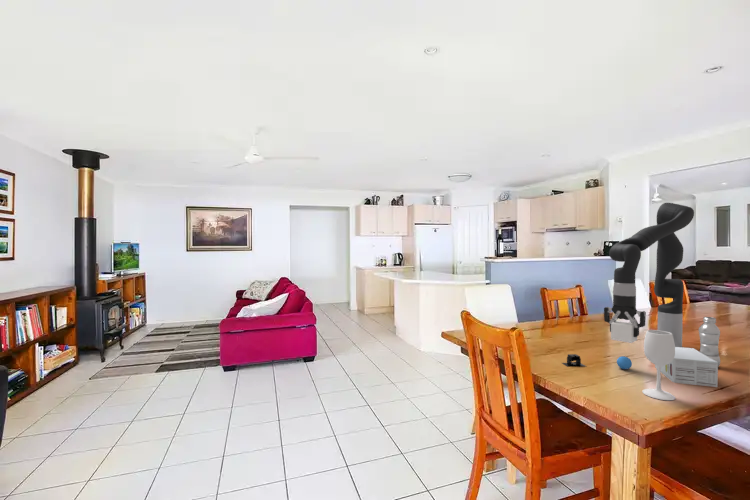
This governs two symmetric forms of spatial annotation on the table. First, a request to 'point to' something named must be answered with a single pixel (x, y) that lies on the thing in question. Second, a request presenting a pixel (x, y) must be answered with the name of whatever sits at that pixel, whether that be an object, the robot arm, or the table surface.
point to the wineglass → (659, 358)
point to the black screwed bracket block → (573, 358)
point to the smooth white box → (623, 331)
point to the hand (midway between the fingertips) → (624, 335)
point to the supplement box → (691, 368)
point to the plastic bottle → (709, 338)
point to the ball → (624, 362)
